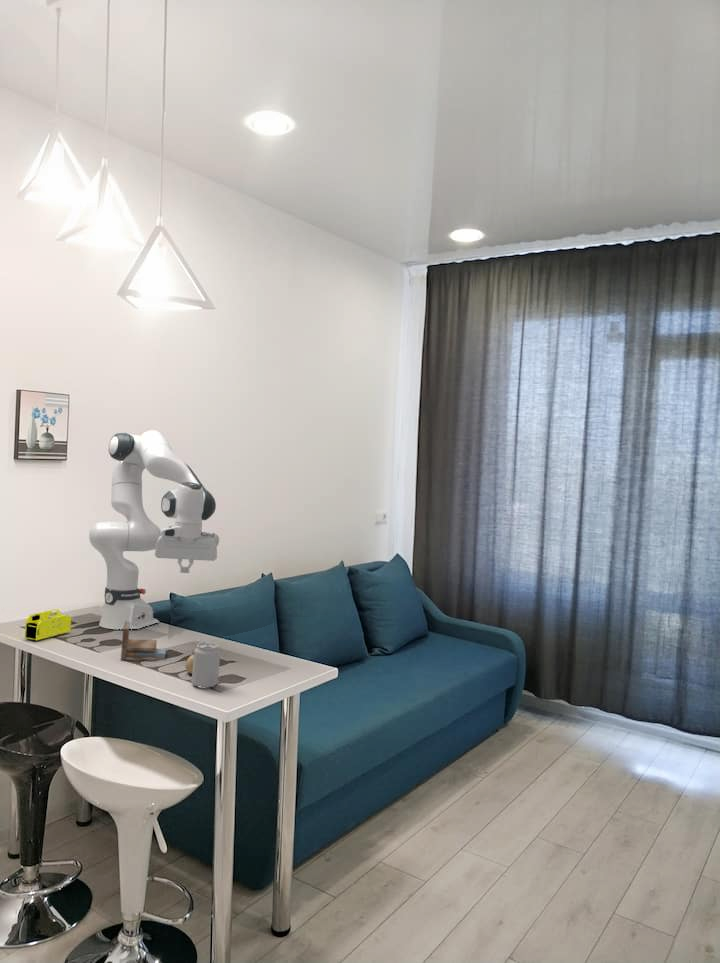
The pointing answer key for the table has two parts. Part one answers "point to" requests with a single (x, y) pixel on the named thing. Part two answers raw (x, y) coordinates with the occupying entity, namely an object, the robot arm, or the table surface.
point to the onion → (190, 663)
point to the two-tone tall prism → (147, 653)
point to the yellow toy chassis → (47, 625)
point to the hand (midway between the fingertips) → (184, 572)
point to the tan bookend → (135, 645)
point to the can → (206, 665)
